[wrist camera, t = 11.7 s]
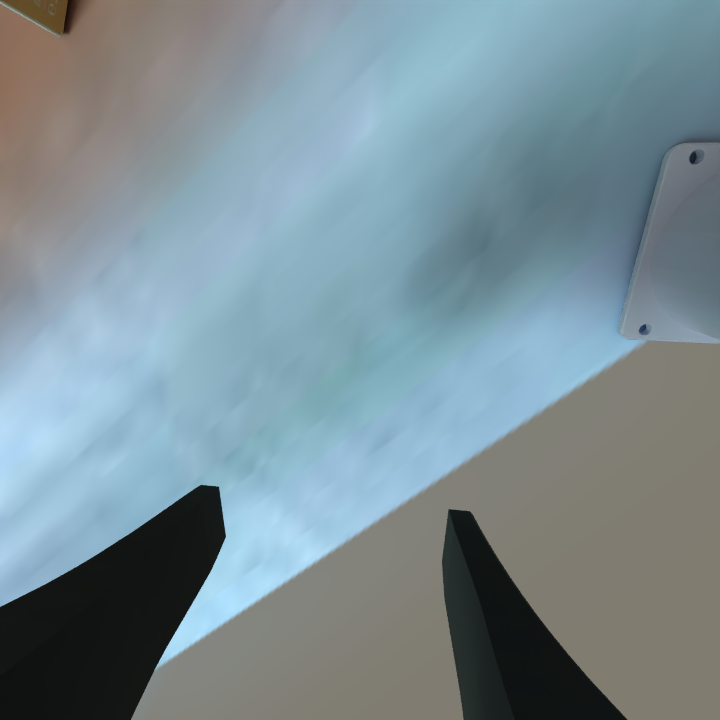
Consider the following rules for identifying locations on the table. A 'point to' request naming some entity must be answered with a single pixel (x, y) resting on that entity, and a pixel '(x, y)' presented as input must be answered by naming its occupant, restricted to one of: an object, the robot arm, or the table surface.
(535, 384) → the table surface
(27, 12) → the small box
